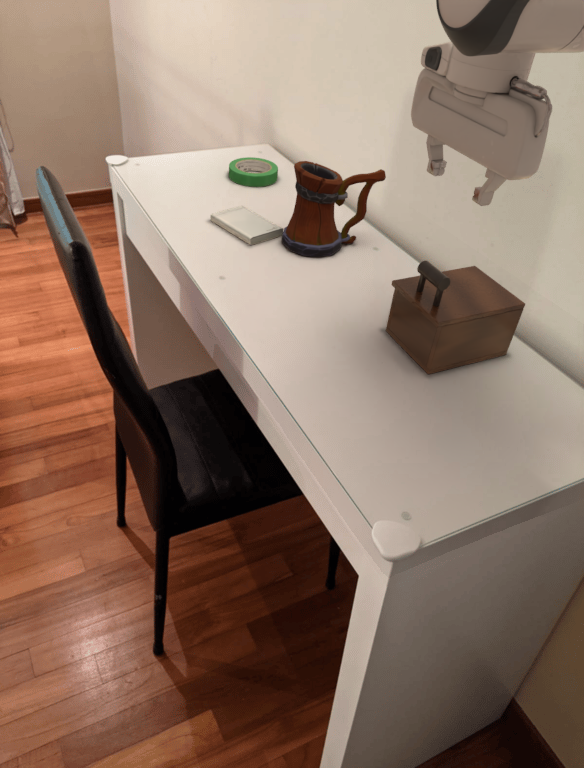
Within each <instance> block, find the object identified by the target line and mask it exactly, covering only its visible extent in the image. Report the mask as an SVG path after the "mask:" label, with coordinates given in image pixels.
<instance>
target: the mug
mask: <svg viewBox="0 0 584 768" xmlns="http://www.w3.org/2000/svg"><path fill="white" fill-rule="evenodd" d="M293 169H294V173H295V179H296V181H295V185H294V187H295V191H296V198H295V204H294V208H293V212H292V215H291V216H290V219H289V222H288V224H287V225H286V226H285V227H284V228H283V235H282V236H281V243H282V244H283V245H284V246H285V247H286V248H287V249H288V250H289V251H291V252H293V253H295V254H297V255H299V256H302V257H313V258H320V257H321V258H322V257H330V256H332V255H334V254H335V253H337V252H339V251H340V250H341V249H342V244H345V245H348V244H350V245H351V244H353V243H354V242H356V240H357V236H356V235H350V234H349V232H350V230H351V229H352V228H353V227H354V226H356V225H357V224H359V223H361V222H362V221H363V220H364V219H365V217H366V214H367V212H368V211H367V209H368V198H369V194H370V192H371V190H372V187H373V186H374V185H375V184H376V183H380V182H384V181H385V180H386V178H387V175H386V171H385V170H384V169H378V170H376V171H374V172H368V173H358V174H354V175H351V176H349V177H347V178H345V179H343V177H342V176H341V174H340V173H339V172H338V171H335V170H333V169H331V168H330V167H327V166H324V165H322V164H319V163H318V162H313V161H307V160H302V161H301V160H300V161H297V162H295V163H294V165H293ZM364 183H365V184H364ZM356 184H364V186H363V187H362V188H361V190H360V192H359V194H358V197H357V204H356V213H355V214H354V215H353V216H352V217H351V218H350V219H349V220H347V221H346V223H345V224H344V225H343V226H342V229H341V232H340V230H338V228H337V225H336V220H335V205H337V206H338V207H341V206H342V205H344V204H345V202H346V199H347V198H348V195H349V194H348V192H347V190H348V189H349V187H350V186H353V185H356Z"/></svg>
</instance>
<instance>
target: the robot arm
mask: <svg viewBox="0 0 584 768" xmlns="http://www.w3.org/2000/svg"><path fill="white" fill-rule="evenodd" d="M435 3H436V11H437V15H438V19H439V22H440V24H441V26H442V28H443V30H444V32H445V34H446V36H447V37H448V39H449V41H446V42H441V43H437V44H436V43H435V44H431V45H427V46H424V47H423V49H422V52H421V57H420V65H421V66H422V67H423V69H421V71H420V73H419V74H418V77H417V80H416V84H415V88H414V93H413V98H412V103H411V110H410V117H411V123H412V126H413V127H414V128H415V129H417V130H419V131H421V132H422V133H424V134H426V135H427V138H426V142H425V143H426V149H427V151H426V152H427V157H428V161H427V167H426V172H427V173H428V174H430V175H431V176H433V177H441V176H443V175H444V174H445V171H446V167H447V163H448V162H447V161H446V160H445V159H444V146H445V145H446V146H447V147H449V148H451V149H453V150H454V151H456V152H458V153H460V154H461V155H463V156H464V157H466V158H468V159H471V160H472V161H474V162H475V163H477V164H479V165H480V166H483V167H484V168H486V171H485V173H484V178H486V181H485V182H484V184H483V185H482V186H476V187H474V190H473V195H472V197H471V198H472V199H471V200H472V201H473V203H475V204H477V205H479V206H480V207H486V206H490V204H491V203H492V201H493V198H494V195H495V192H496V191H497V190H499V188H500V187H501V186H502V185H503V184H504V183H505V182H506V181H507V180H508V181H520V180H527V179H530V178H532V176H534V175H535V174H536V173H537V172H538V170H539V168H540V165H541V161H542V159H543V154H544V150H545V147H546V142H547V137H548V132H549V126H550V118H551V115H552V112H553V104H552V102H551V98H550V97H549V95H548V90H547V89H546V88H545V87H543V86H540V85H535V84H533V83H531V82H529V81H528V79H529V76H530V73H531V70H532V66H533V63H534V60H535V57H536V54H577V53H584V0H435Z"/></svg>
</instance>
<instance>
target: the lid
mask: <svg viewBox="0 0 584 768" xmlns="http://www.w3.org/2000/svg"><path fill="white" fill-rule="evenodd" d="M416 270H417V273H418V274H419V275H416V276H410V277H405V278H398V279H394V280H391V286H392V287H393V288H394V290H395V289H396V290H397V291H398V292H400V293H401V294H402V295H403V296H404V297H405V298H406V299H407V300H408V301H409V302H410V303H412V304H413V305H414V306H415V307H416V308H417V309H418V310H419V311H420V312H421V313H422V314H423V315H425V316H426V317H427V318H428V319H429V320H430V321H431V322H432V323H433V324H434V325H435V326H436V327H441V326H446V325H450V324H455V323H459V322H464V321H468V320H473V319H477V318H482V317H486V316H491V315H495V314H500V313H504V312H509V311H513V310H518V309H522V308H523V309H524V308H525V307H526V303H525V302H524V301H523V300H521V299H520V298H519V297H518V296H516V295H515V294H513V293H512V292H511V291H510V290H508V289H507V288H505V287H504V286H503V285H502V284H500V283H499V282H497V281H496V280H495V279H494V278H492V277H490V276H489V275H488V274H487V273H486V272H484V271H483V270H482V269H480V268H479V267H478V266H476V265H471V266H466V267H465V266H464V267H459V268H454V269H449V270H443V271H441V270H440V269H439V268H437V267H436V266H435V265H433V264H432V263H431V262H430V261H428V260H422V261H421V262H419V264H418V266H417V268H416Z"/></svg>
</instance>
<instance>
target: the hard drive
mask: <svg viewBox="0 0 584 768" xmlns="http://www.w3.org/2000/svg"><path fill="white" fill-rule="evenodd" d="M209 216H210V220H209V221H211V222H212V223H214V224H216V225H217V226H219V227H220V228H222V229H224V230H225V231H226V232H228V233H230V234H232V235H233V236H235V237H237V238H238V239H240V240H241V241H243V242H245V243H246V244H248V245H250V246H253V245H256V244H260V243H263V242H267V241H269V240H272V239H275V238H278V237H282V235H283V231H284V228H282V226H279V225H277V224H275V223H274V222H272V221H270V220H269V219H268V218H265V217H263V216H262V215H260V214H258V213H256V212H255V211H253V210H251V209H249V208H248V207H246V206H244V205H239V206H235V207H231V208H228V209H224V210H220V211H217V212H213V213H211V214H210V215H209Z"/></svg>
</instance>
